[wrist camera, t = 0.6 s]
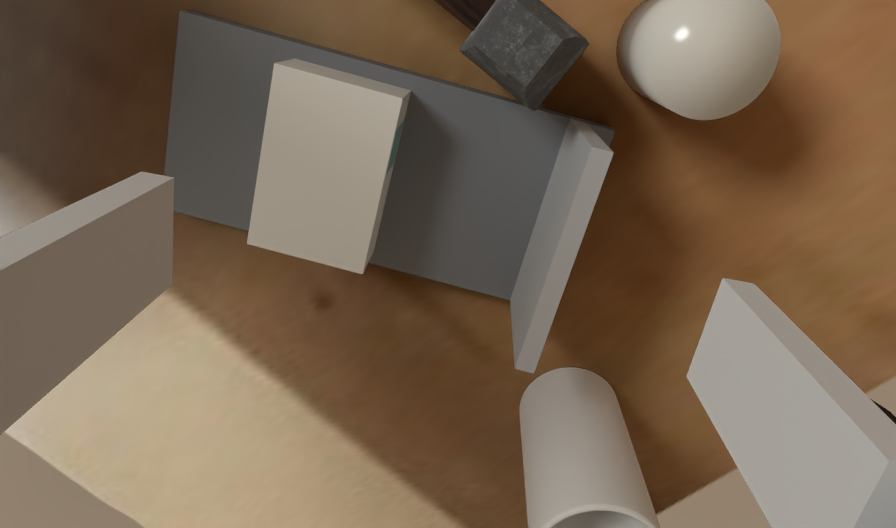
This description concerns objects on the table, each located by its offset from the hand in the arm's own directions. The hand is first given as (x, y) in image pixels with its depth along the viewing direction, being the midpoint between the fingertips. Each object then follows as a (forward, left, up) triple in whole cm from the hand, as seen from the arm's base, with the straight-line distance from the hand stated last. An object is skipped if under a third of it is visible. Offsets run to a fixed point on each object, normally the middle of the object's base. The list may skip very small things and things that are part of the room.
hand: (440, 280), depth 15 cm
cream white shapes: (+12, +7, -32) cm, 35 cm away
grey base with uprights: (-5, -6, -32) cm, 33 cm away
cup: (+14, -22, -32) cm, 42 cm away
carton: (-8, -6, -30) cm, 32 cm away
